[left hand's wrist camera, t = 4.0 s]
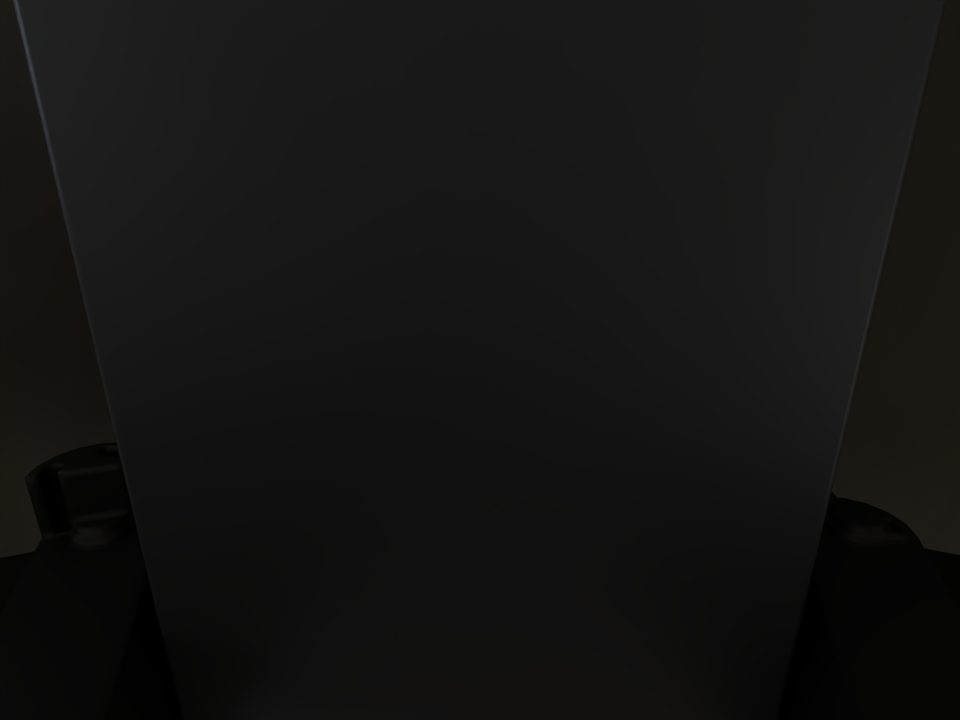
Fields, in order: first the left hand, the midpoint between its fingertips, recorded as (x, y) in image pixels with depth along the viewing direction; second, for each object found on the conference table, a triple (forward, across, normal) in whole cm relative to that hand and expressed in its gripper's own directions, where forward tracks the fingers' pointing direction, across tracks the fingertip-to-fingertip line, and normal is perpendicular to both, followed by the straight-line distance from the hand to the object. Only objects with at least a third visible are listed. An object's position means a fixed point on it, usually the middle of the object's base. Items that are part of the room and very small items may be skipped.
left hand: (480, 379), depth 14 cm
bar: (0, 0, -8) cm, 9 cm away
